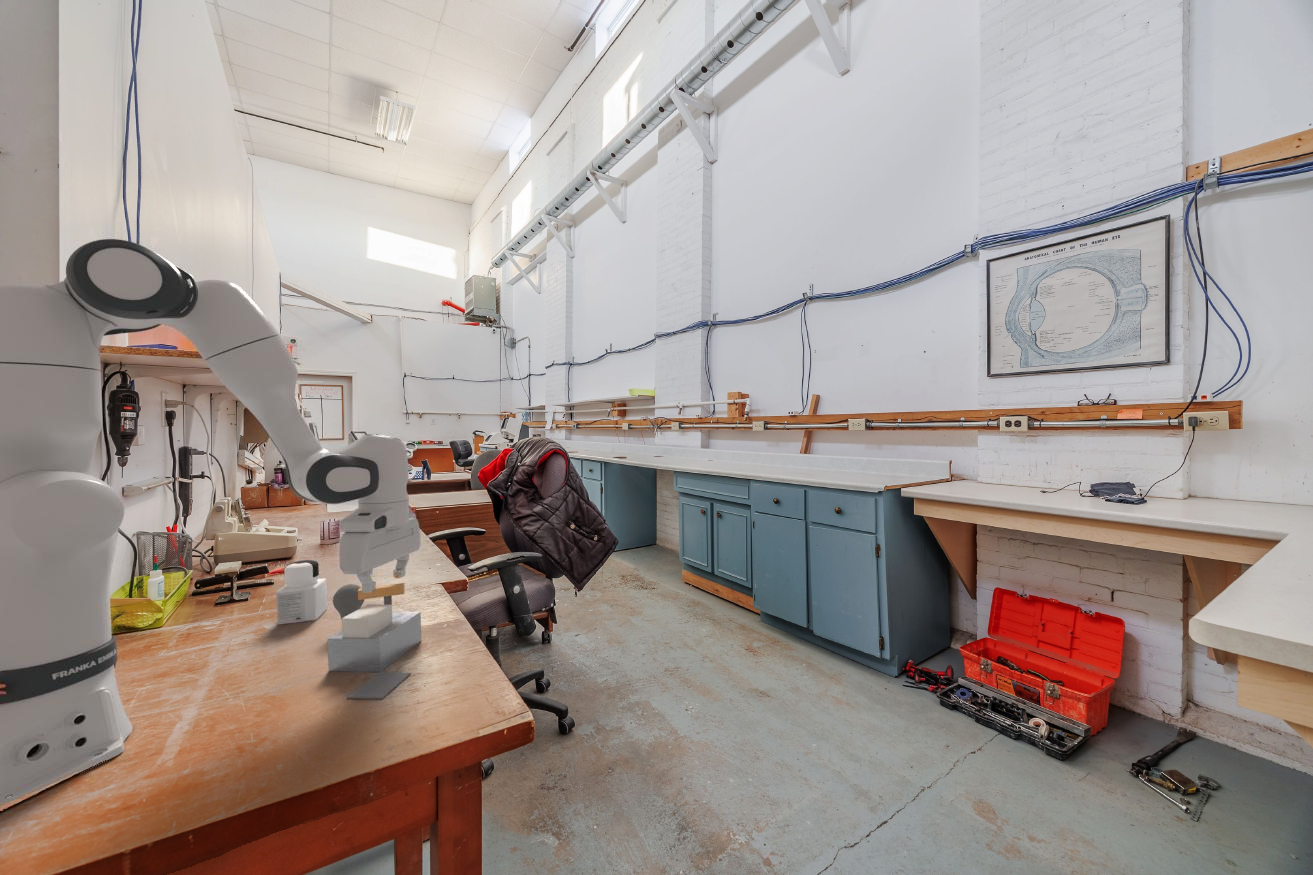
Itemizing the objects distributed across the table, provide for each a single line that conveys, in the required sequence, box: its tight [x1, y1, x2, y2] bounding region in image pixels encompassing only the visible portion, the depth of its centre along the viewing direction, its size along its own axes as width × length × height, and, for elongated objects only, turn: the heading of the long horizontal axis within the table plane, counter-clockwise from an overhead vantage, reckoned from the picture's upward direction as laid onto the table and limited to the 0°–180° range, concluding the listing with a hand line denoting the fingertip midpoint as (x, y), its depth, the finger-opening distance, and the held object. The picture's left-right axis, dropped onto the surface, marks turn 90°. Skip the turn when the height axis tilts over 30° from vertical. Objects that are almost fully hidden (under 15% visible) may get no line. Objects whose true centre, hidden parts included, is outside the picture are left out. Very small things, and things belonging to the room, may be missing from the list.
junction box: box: [327, 610, 422, 673], centre depth 94 cm, size 13×10×6 cm
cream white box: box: [341, 603, 393, 638], centre depth 92 cm, size 7×5×4 cm
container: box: [275, 559, 328, 625], centre depth 115 cm, size 8×8×13 cm
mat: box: [346, 671, 412, 700], centre depth 83 cm, size 8×6×1 cm
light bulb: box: [332, 583, 366, 620], centre depth 107 cm, size 6×6×10 cm
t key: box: [358, 582, 406, 606], centre depth 97 cm, size 8×2×6 cm, turn 112°
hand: (384, 584), depth 97 cm, fingers open, 8 cm apart
